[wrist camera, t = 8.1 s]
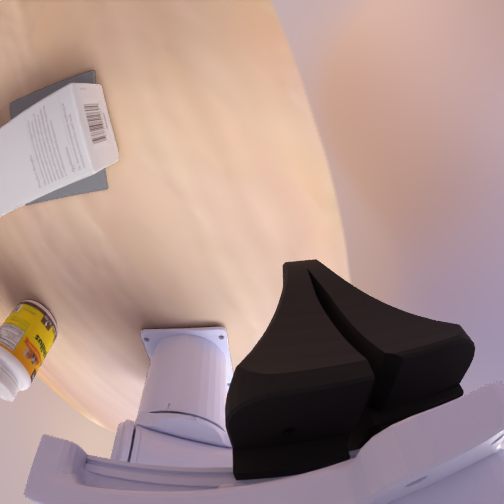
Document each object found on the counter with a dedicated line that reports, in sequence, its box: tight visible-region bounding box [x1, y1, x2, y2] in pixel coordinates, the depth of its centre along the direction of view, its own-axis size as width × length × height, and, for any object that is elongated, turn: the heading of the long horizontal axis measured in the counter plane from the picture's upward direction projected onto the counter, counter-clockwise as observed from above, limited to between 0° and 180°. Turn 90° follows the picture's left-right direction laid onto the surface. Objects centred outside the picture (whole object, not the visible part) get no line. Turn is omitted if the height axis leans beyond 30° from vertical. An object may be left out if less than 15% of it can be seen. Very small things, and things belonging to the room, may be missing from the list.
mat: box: [10, 70, 108, 205], centre depth 17 cm, size 9×8×1 cm
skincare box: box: [0, 83, 119, 217], centre depth 16 cm, size 6×4×12 cm
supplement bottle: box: [0, 300, 58, 401], centre depth 20 cm, size 6×6×10 cm
